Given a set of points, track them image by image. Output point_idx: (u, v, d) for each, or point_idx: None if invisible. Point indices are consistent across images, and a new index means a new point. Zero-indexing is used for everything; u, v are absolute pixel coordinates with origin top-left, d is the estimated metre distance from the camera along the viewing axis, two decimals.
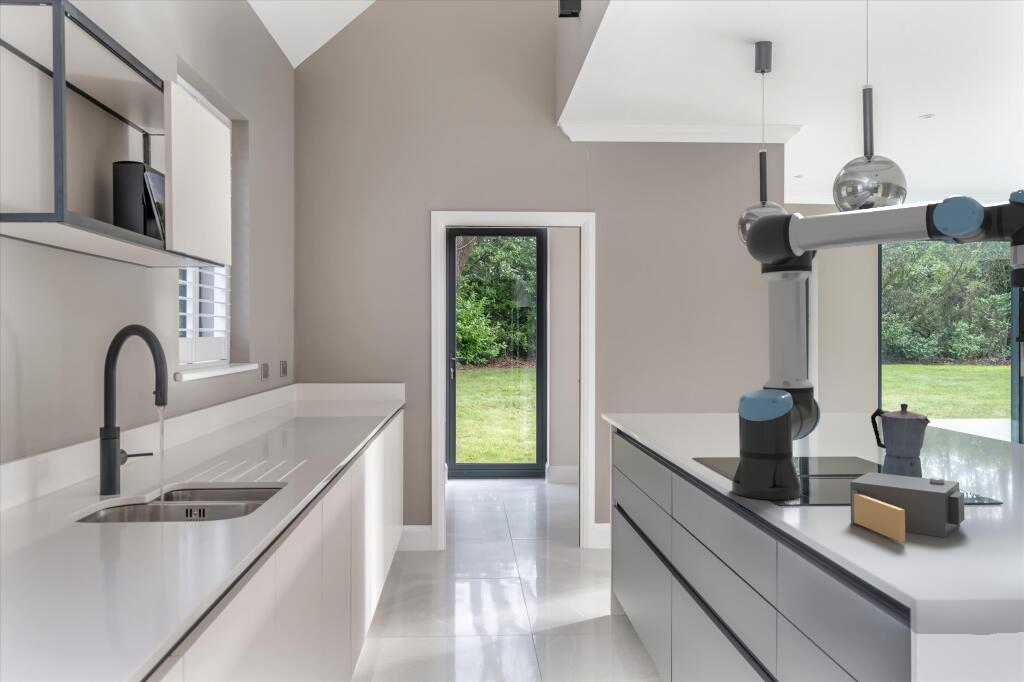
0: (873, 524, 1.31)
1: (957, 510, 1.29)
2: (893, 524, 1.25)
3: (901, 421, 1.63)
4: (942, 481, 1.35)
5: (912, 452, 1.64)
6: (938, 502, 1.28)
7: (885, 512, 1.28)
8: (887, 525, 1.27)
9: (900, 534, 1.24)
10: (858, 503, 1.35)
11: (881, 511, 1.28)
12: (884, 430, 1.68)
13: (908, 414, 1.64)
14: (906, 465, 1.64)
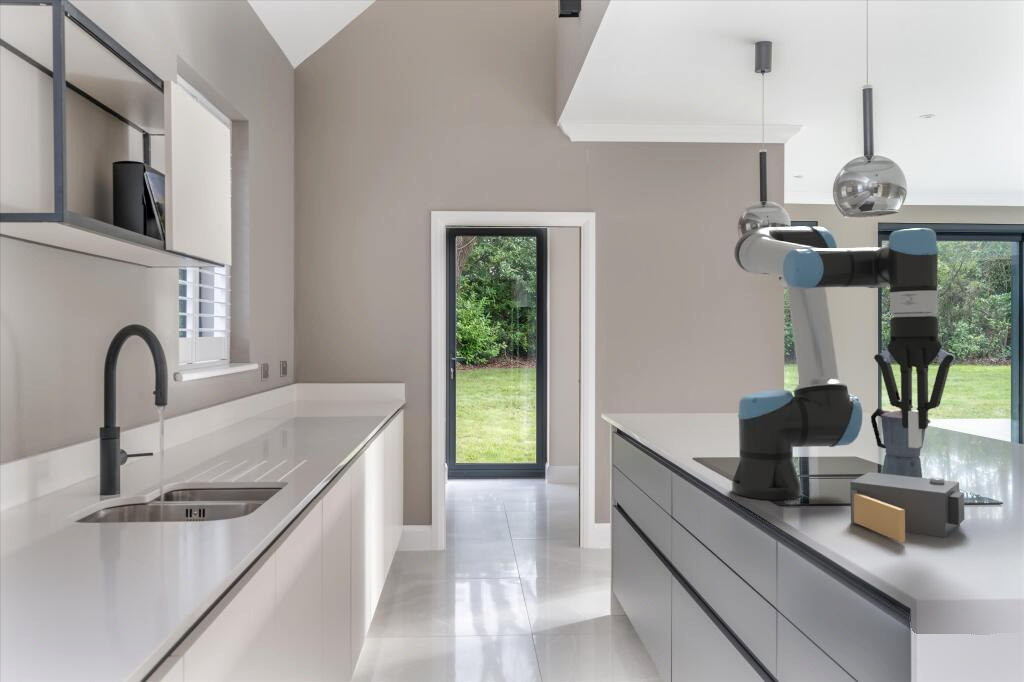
0: (873, 524, 1.31)
1: (957, 510, 1.29)
2: (893, 524, 1.25)
3: (901, 421, 1.63)
4: (942, 481, 1.35)
5: (912, 452, 1.64)
6: (938, 502, 1.28)
7: (885, 512, 1.28)
8: (887, 525, 1.27)
9: (900, 534, 1.24)
10: (858, 503, 1.35)
11: (881, 511, 1.28)
12: (884, 430, 1.68)
13: None
14: (906, 465, 1.64)
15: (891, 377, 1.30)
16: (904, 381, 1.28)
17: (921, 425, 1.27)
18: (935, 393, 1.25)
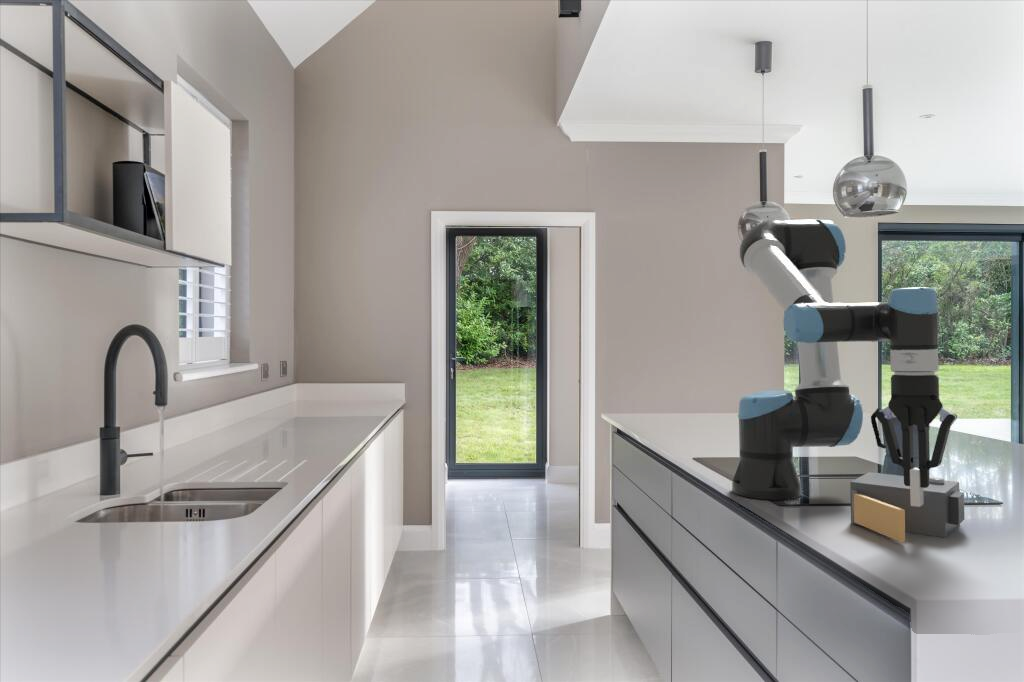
0: (873, 524, 1.31)
1: (957, 510, 1.29)
2: (893, 524, 1.25)
3: None
4: (942, 481, 1.35)
5: None
6: (938, 502, 1.28)
7: (885, 512, 1.28)
8: (887, 525, 1.27)
9: (900, 534, 1.24)
10: (858, 503, 1.35)
11: (881, 511, 1.28)
12: None
13: None
14: None
15: (892, 434, 1.30)
16: (905, 439, 1.28)
17: (923, 484, 1.27)
18: (936, 452, 1.25)
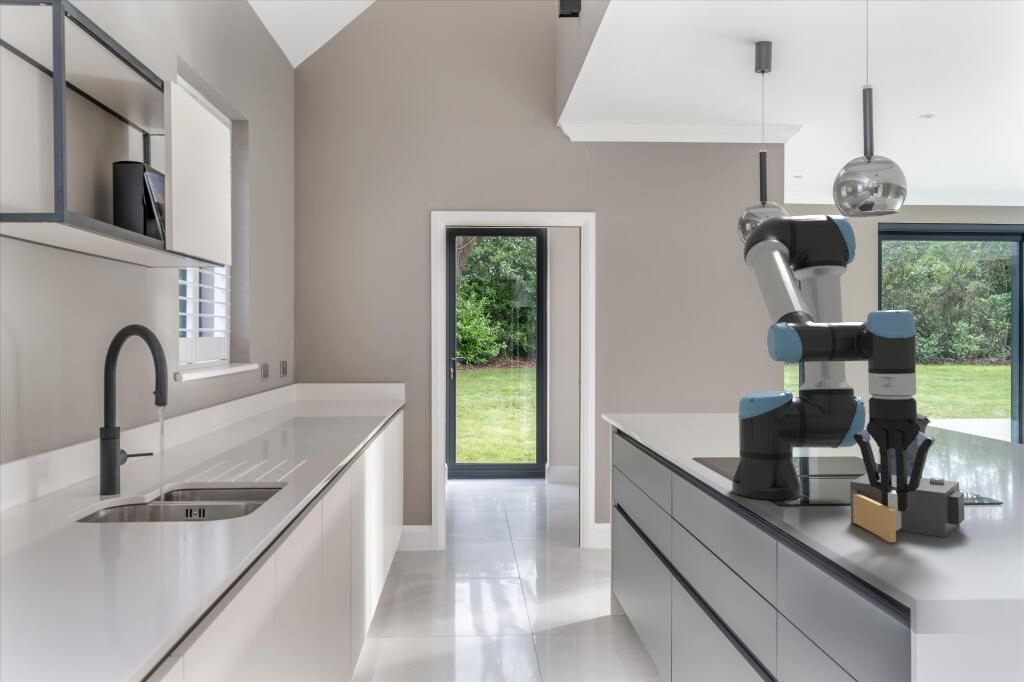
0: (869, 524, 1.31)
1: (957, 510, 1.29)
2: (885, 524, 1.25)
3: None
4: (942, 481, 1.35)
5: (912, 452, 1.64)
6: (938, 502, 1.28)
7: (878, 512, 1.28)
8: (880, 525, 1.27)
9: (890, 534, 1.24)
10: (857, 503, 1.35)
11: (875, 512, 1.28)
12: None
13: None
14: None
15: (870, 457, 1.29)
16: (883, 462, 1.27)
17: (900, 507, 1.26)
18: (914, 476, 1.24)
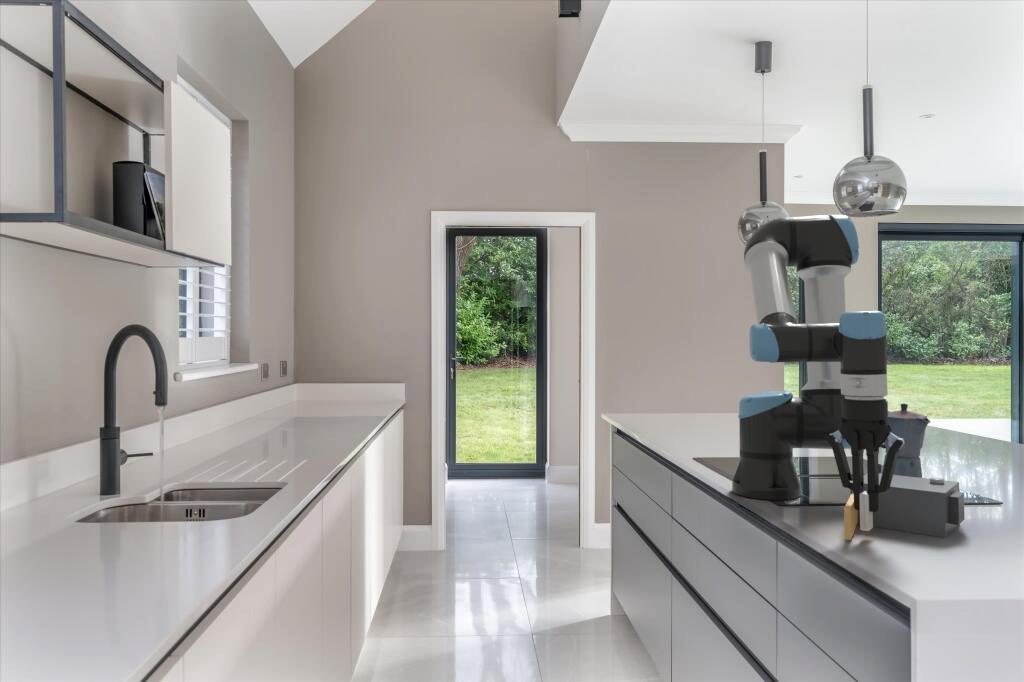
0: None
1: (957, 510, 1.29)
2: None
3: (901, 421, 1.63)
4: (942, 481, 1.35)
5: (912, 452, 1.64)
6: (938, 502, 1.28)
7: None
8: None
9: (845, 532, 1.26)
10: None
11: None
12: None
13: (908, 414, 1.64)
14: (906, 465, 1.64)
15: (843, 458, 1.30)
16: (855, 463, 1.28)
17: (871, 508, 1.27)
18: (885, 477, 1.25)
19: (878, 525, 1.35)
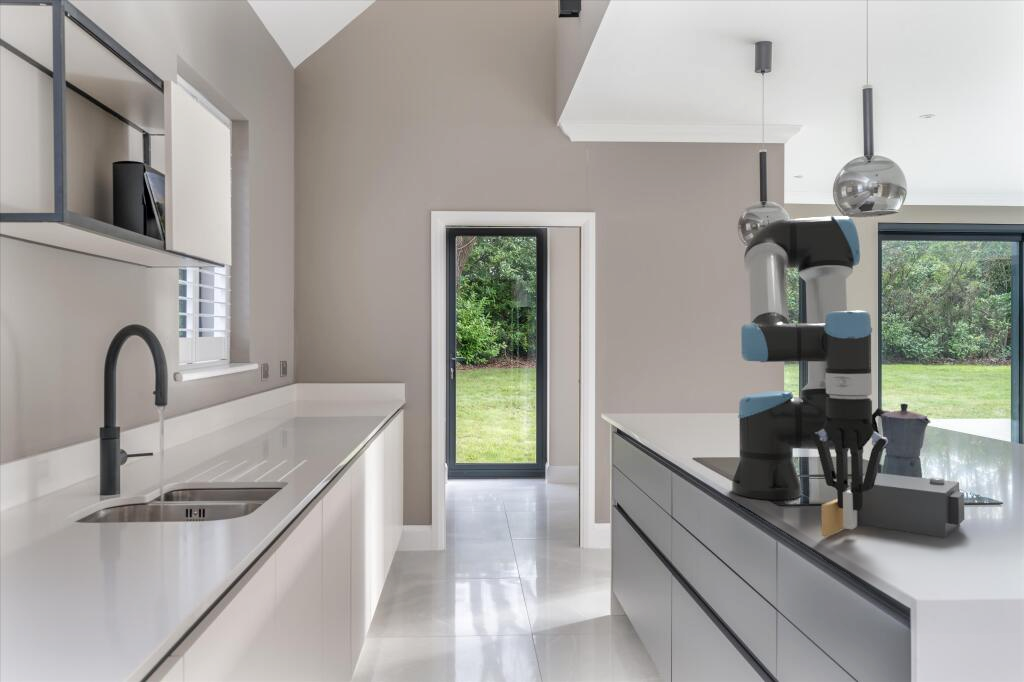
0: None
1: (957, 510, 1.29)
2: None
3: (901, 421, 1.63)
4: (942, 481, 1.35)
5: (912, 452, 1.64)
6: (938, 502, 1.28)
7: None
8: None
9: (822, 528, 1.28)
10: None
11: None
12: (884, 430, 1.68)
13: (908, 414, 1.64)
14: (906, 465, 1.64)
15: (827, 456, 1.31)
16: (839, 462, 1.29)
17: (855, 506, 1.27)
18: (868, 476, 1.25)
19: (878, 525, 1.35)
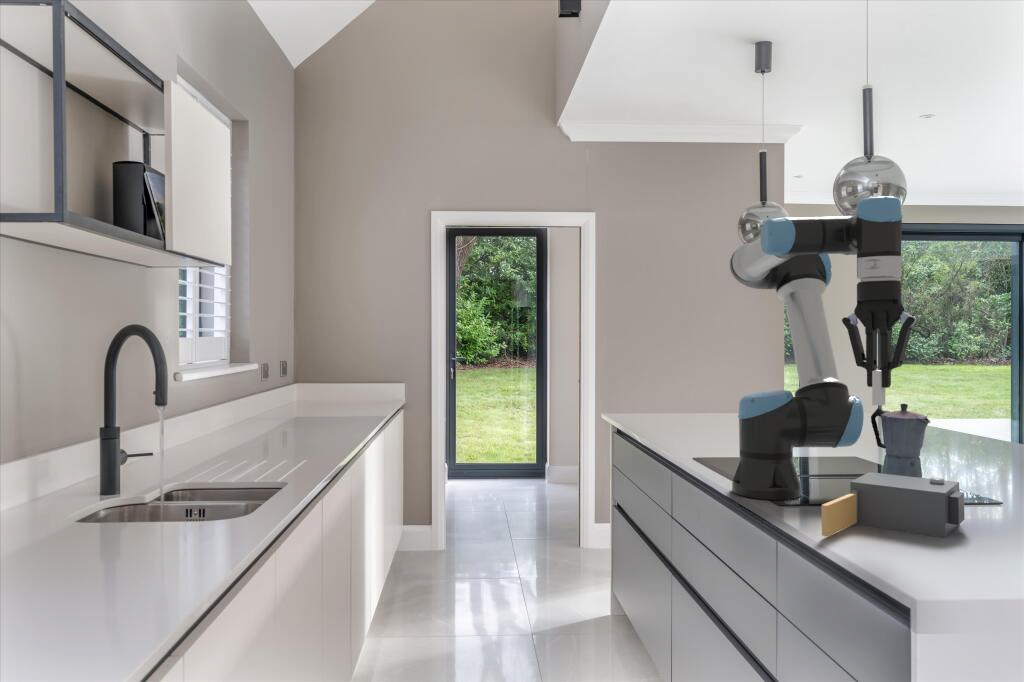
0: None
1: (957, 510, 1.29)
2: None
3: (901, 421, 1.63)
4: (942, 481, 1.35)
5: (912, 452, 1.64)
6: (938, 502, 1.28)
7: None
8: None
9: (822, 528, 1.28)
10: None
11: None
12: (884, 430, 1.68)
13: (908, 414, 1.64)
14: (906, 465, 1.64)
15: (857, 339, 1.37)
16: (869, 342, 1.35)
17: (884, 384, 1.34)
18: (897, 353, 1.32)
19: (878, 525, 1.35)
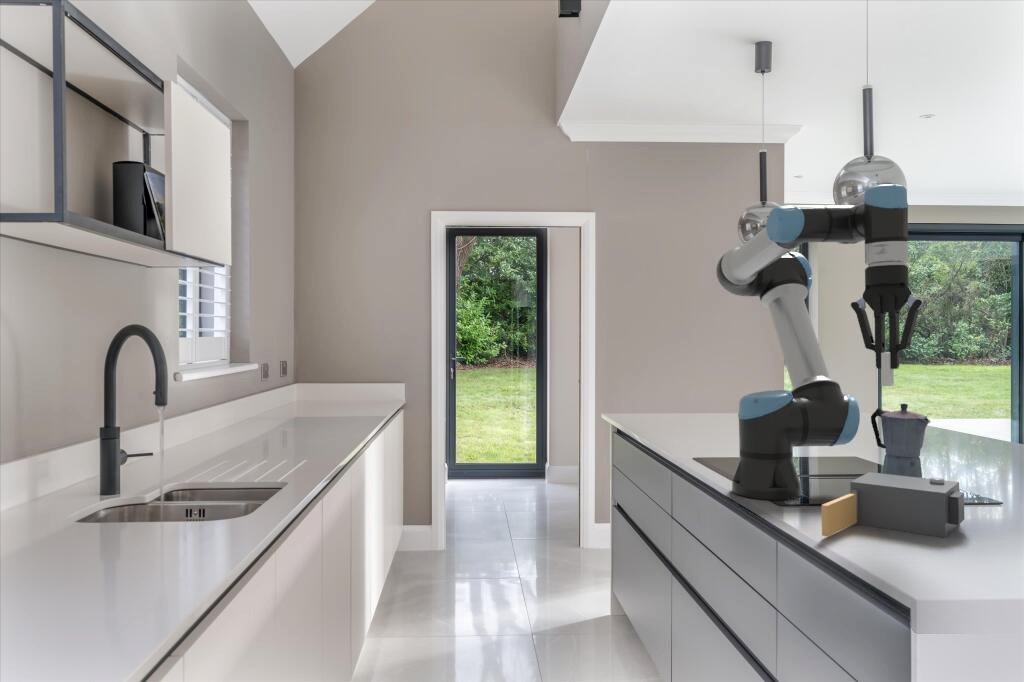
0: None
1: (957, 510, 1.29)
2: None
3: (901, 421, 1.63)
4: (942, 481, 1.35)
5: (912, 452, 1.64)
6: (938, 502, 1.28)
7: None
8: None
9: (822, 528, 1.28)
10: None
11: None
12: (884, 430, 1.68)
13: (908, 414, 1.64)
14: (906, 465, 1.64)
15: (866, 322, 1.42)
16: (877, 325, 1.40)
17: (893, 365, 1.39)
18: (905, 335, 1.37)
19: (878, 525, 1.35)
